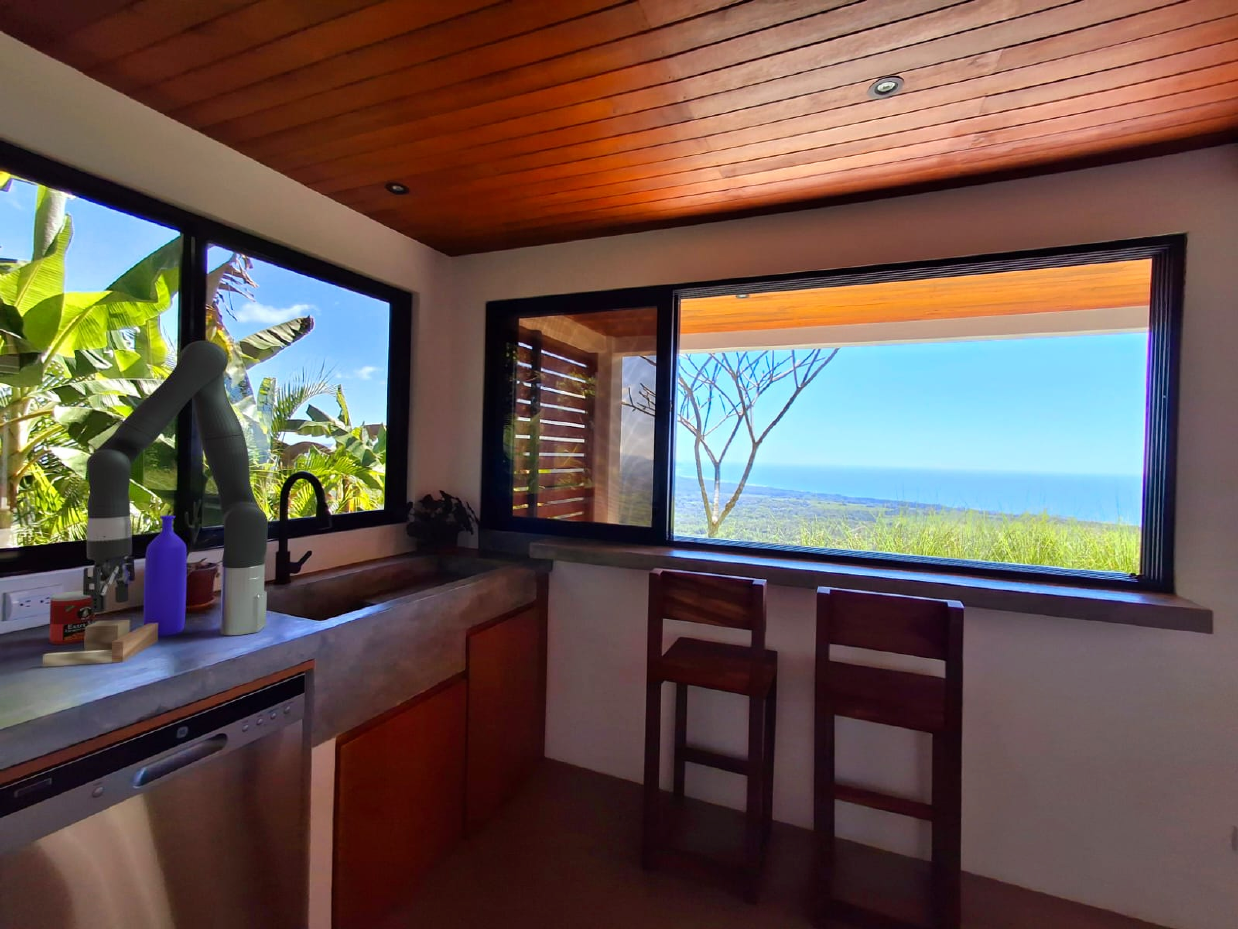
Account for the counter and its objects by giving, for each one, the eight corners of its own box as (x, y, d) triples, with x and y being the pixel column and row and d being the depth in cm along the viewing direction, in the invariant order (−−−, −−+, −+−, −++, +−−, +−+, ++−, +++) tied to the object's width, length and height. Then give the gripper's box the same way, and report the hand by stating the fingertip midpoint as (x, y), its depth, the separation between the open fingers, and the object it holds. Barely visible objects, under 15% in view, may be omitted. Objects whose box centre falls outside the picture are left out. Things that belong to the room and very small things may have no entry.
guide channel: (157, 641, 131) (158, 622, 131) (122, 661, 118) (123, 641, 118) (87, 645, 127) (87, 626, 127) (42, 666, 114) (43, 645, 114)
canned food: (65, 646, 127) (66, 599, 127) (39, 642, 128) (41, 596, 128) (102, 636, 134) (103, 592, 134) (77, 633, 136) (79, 589, 136)
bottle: (191, 630, 140) (195, 515, 140) (153, 639, 133) (157, 518, 133) (174, 625, 144) (177, 513, 144) (135, 634, 136) (139, 516, 136)
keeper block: (129, 649, 126) (129, 619, 126) (117, 656, 121) (118, 625, 121) (97, 651, 124) (98, 621, 124) (84, 658, 120) (85, 626, 120)
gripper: (110, 540, 117) (111, 614, 117) (146, 531, 131) (147, 597, 131) (67, 542, 115) (68, 617, 115) (109, 532, 128) (110, 600, 129)
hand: (110, 607), depth 123 cm, fingers open, 8 cm apart
